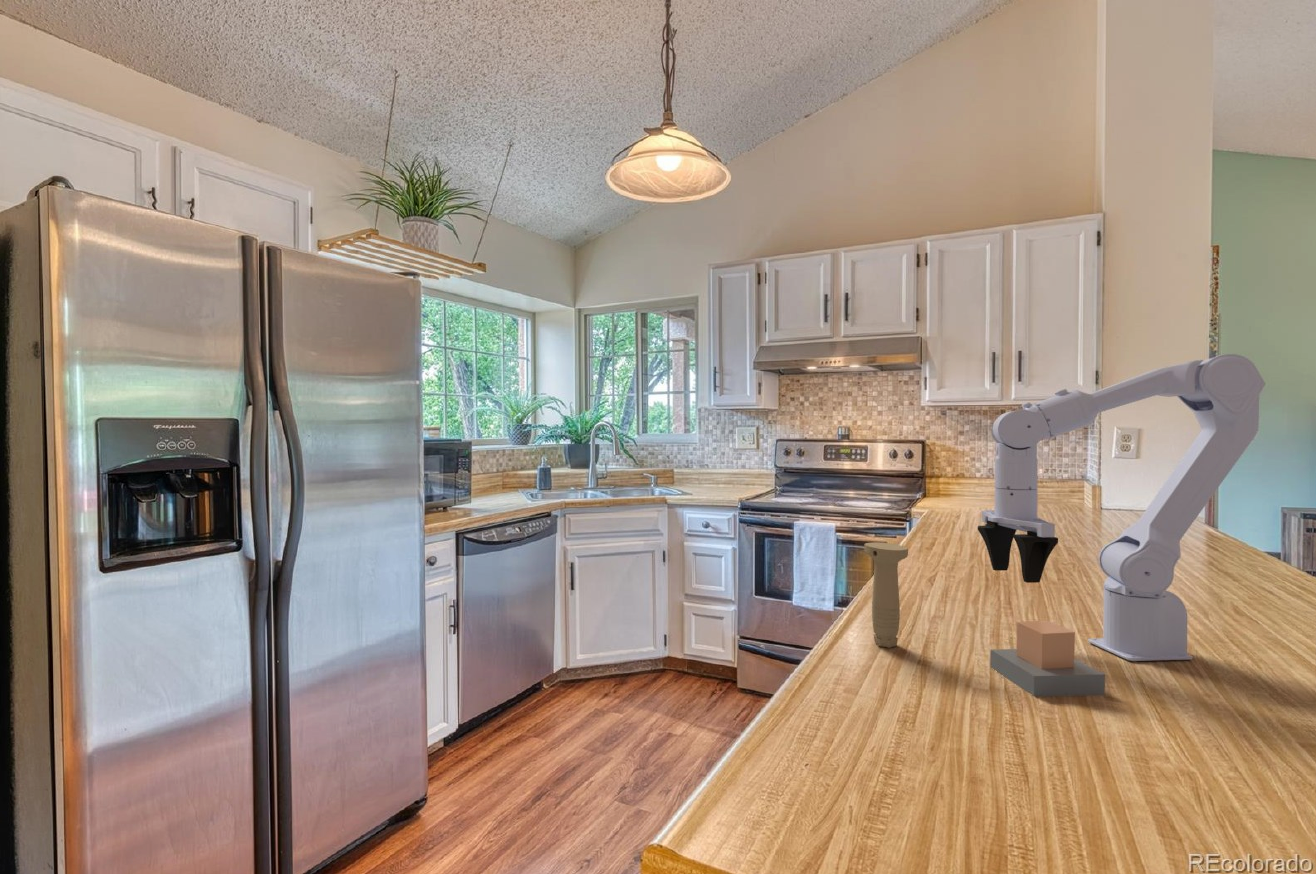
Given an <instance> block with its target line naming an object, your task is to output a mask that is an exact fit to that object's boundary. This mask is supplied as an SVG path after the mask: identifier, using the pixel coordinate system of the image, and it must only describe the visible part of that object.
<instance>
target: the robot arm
mask: <svg viewBox="0 0 1316 874" xmlns="http://www.w3.org/2000/svg"><path fill="white" fill-rule="evenodd" d="M1263 378H1264V377H1263V376H1262V375H1261V373H1260V371H1259V369H1258V367H1257V366H1256V365H1255V363H1254V362H1253V361H1252V360H1250V359H1249V358H1248V357H1245V356H1243V355H1241V354H1235V353H1223V354H1219V355H1217V356H1216V355H1215V356H1213V357H1211V358H1205V359H1198V360H1191V361H1188V362H1186V363H1180V364H1179V363H1178V364H1175V365H1170V366H1165V367H1159V368H1155V369H1152V370H1149V371H1147V372H1144V373H1141V374H1138V375H1136V376H1133V377H1130V378H1128V379H1125V380H1122V381H1120V382H1117V383H1114V384H1112V385H1109V386H1107V387H1104V388H1101V389H1098V390H1095V391H1093V392H1089V393H1087V392H1083V391H1081V390H1079V389H1072V390H1069V391H1068V390H1067V389H1066V388H1063V389H1060V390H1057V391H1055V392H1054V394H1055V396H1052V397H1050V398H1046V399H1043V400H1039V401H1038V402H1035V403H1031V402H1026V403H1023V404H1022V403H1021V407H1022V408H1020V409H1018V408H1017V409H1015V410H1014V411H1008V412H1007V411H1006V412H1004V413H1002V414H1001V415H999V416H998V417H997V418H996V419H995V420H994V423H993V424H992V428H991V429H990V433H991V436H992V438H993V440H994V441H995V442H996V444H995V458H994V510H989V509H988V510H981V522H982V523H985V524H984V525H978V526H977V531H978V532H979V534H980V536H981V537H982V540H983V542H984V544H985V546H986V550H987V554H988V556H989V560H990V564H991V567H992V570H993V571H996V572H997V571H998V572H999V571H1008V570H1009V565H1010V559H1011V558H1010V557H1011V549H1012V544H1013V540H1014V542H1015V543H1016V545H1017V549H1018V552H1019V556H1020V557H1019V558H1020V564H1021V575H1022V580H1023V582H1024V583H1026V584H1027V583H1031V584H1033V583H1034V584H1035V583H1036V584H1038V583H1041V580H1042V577H1043V573H1044V570H1045V567H1046V563H1047V561H1048V559H1049V557H1050V554H1051V553H1052V551H1053V550H1054V549H1055V547H1056V546H1057V545H1058V544H1059V537H1055V533H1056V532H1055V529H1056V527H1055V526H1056V525H1055V523H1053V522H1049V521H1046V520H1044V519H1043V518H1040V517H1038V469H1039V468H1038V464H1039V462H1038V461H1039V460H1038V458H1037V457H1038V454H1037V453H1038V452H1037V449H1038V448H1037V447H1038V445H1037V444H1038V443H1039V442H1040V441H1041V439H1043V440H1049V439H1051V438H1055V437H1058V436H1061V435H1063V434H1066V433H1070V432H1073V431H1076V430H1079V429H1082V428H1085V427H1088V426H1091V425H1092V424H1093V423H1094V421H1095V419H1096V417H1097V416H1098V414H1099V413H1102V412H1106V411H1108V410H1112V409H1116V408H1119V407H1121V406H1125V405H1129V404H1132V403H1134V402H1138V401H1141V400H1146V399H1149V398H1151V397H1156V396H1160V397H1168V398H1170V397H1177V398H1178V399H1179V400H1180V401H1181V402H1183V404H1184V405H1185V406H1187V408H1188V409H1190V411H1192V412H1193V414H1194V415H1195V417H1196V420H1197V422H1198V424H1199V425H1200V428H1201V431H1200V432H1199V434H1198V435H1197V436H1196V438H1195V440H1193V442H1192V443H1191V445H1190V446H1189V448H1188V449H1187V451H1186V452H1185V454H1184V455H1183V456H1182V458H1181V459H1180V461H1179V462H1178V464H1177V465H1176V466H1175V468H1174V469H1173V471H1171V474H1169V476H1168V477H1167V479H1166V480H1165V482H1164V483H1163V485H1162V487H1161V488H1160V489H1159V491H1158V492H1157V494H1156V495H1155V496H1154V497H1153V499H1152V501H1151V502H1150V504H1149V505H1148V506H1147V508H1146V509H1145V510H1144V512H1143V513H1142V515H1141V517H1140V518H1139V519H1138V521H1136V522H1135V523H1133V524H1132V525H1130V526H1128V527H1126V528H1125V529H1124V530H1122V532H1121V534H1120V535H1119V536H1118V537H1117V538H1116V539H1114V540H1112V541H1111V542H1108V543H1107V544H1106V545H1104V546H1103V547H1102V548H1101V549H1100V552H1099V554H1098V565H1099V568H1100V569H1101V571H1102V572H1103V573H1104V574H1105V575H1106V579H1105V581H1104V582H1103V583H1102V585H1103V592H1102V593H1103V598H1102V600H1103V603H1102V604H1103V605H1102V606H1103V609H1102V610H1103V612H1102V614H1103V616H1102V637H1101V638H1098V637H1097V638H1088V639H1087V642H1088V643H1089V644H1092V645H1093V646H1096V647H1098V648H1101V649H1102V650H1105V651H1107V652H1110V653H1112V654H1114V655H1116V656H1118V657H1120V658H1123V659H1124V660H1127V661H1130V662H1138V661H1139V662H1141V661H1142V662H1144V661H1145V662H1147V661H1183V660H1193V658H1194V657H1193V656H1192V655H1191V654H1188V611H1187V608H1186V605H1185V604H1184V602H1183V601H1182V599H1181V598H1180V597H1179V596H1178V595H1177V594H1176V593H1174V592H1172V591H1169V590H1168V589H1169V588H1170V586H1171V585H1172V583H1173V580H1174V576H1175V575H1174V573H1175V566H1176V565H1177V563H1178V561H1179V560H1180V559H1181V557H1182V556H1181V555H1182V554H1181V544H1180V543H1181V540H1182V538H1183V537H1184V536H1185V535H1186V533H1187V532H1188V530H1189V529H1190V527H1191V526H1192V525H1193V523H1194V522H1195V520H1196V519H1197V517H1198V516H1199V515H1200V513H1201V512H1202V511H1203V509H1204V508H1205V507H1206V506H1207V504H1208V502H1209V501H1210V500H1211V498H1212V497H1213V495H1214V494H1215V493H1216V492H1217V490H1218V488H1219V487H1220V486H1221V484H1222V483H1223V481H1224V480H1225V479H1226V477H1227V476H1228V474H1230V472H1231V470H1232V469H1233V468H1234V466H1235V465H1236V463H1237V462H1238V461H1239V459H1240V458H1241V457H1242V455H1243V454H1244V452H1245V451H1246V449H1247V448H1248V447H1249V446H1250V445H1251V443H1252V441H1253V440H1254V439H1255V437H1256V435H1257V433H1258V431H1259V426H1260V425H1259V424H1260V423H1259V419H1260V418H1259V417H1260V414H1259V413H1260V395H1261V393H1262V392H1263V390H1264V388H1265V386H1266V382H1265V381H1264V379H1263ZM1017 531H1021V532H1025V534H1024V533H1023V534H1022V533H1021V534H1019V533H1018V534H1016V533H1017ZM1167 590H1168V591H1167Z"/></svg>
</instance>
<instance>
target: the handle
mask: <svg viewBox="0 0 1316 874" xmlns="http://www.w3.org/2000/svg"><path fill="white" fill-rule="evenodd" d="M863 547H864V549H863V550H864V553H865V554H866V555H868V556H869V557H870V558H872V560H873V566H874V567H873V585H872V599H871V600H872V601H871V618H872V619H871V620H872V621H871V622H872V629H873V630H872V631H873V640H874V643H875V644H876V645H877V646H878V647H881V648H883V647H884V648H887V649H888V648H889V649H891V648H894V647H896V646H897V645H898V641H899V640H898V639H899V638H898V637H897V636H898V635H899V628H900V619H901V618H900V616H901V614H900V611H901V610H900V609H901V608H900V607H901V603H900V593H899V590H900V589H899V588H900V587H899V573H898V568H899V562H900V561H902V560H905V559H906V558H907V557H908V556H909V548H908V547H906V546H904V545H900V544H895V543H889V542H881V541H880V542H876V541H875V542H866V543H864V544H863Z"/></svg>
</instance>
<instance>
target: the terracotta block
mask: <svg viewBox="0 0 1316 874" xmlns="http://www.w3.org/2000/svg"><path fill="white" fill-rule="evenodd" d="M1075 640H1076V633H1075V631H1073V630H1070V629H1068V628H1067V627H1066V628H1065V627H1063V626H1062V625H1060V624H1057V623H1055V622H1053V621H1050V620H1031V621H1029V620H1028V621H1027V620H1026V621H1017V622H1016V649H1017V653H1016V655H1017V656H1019V657H1020V658H1022V659H1024V660H1026V661H1028V662H1030V663H1031V664H1033V665H1035V666H1037V667H1039V668H1041V669H1050V668H1068V667H1074V659H1075V650H1076V649H1075V646H1076V644H1075Z"/></svg>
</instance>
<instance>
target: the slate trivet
mask: <svg viewBox="0 0 1316 874" xmlns="http://www.w3.org/2000/svg"><path fill="white" fill-rule="evenodd" d="M989 652H990V656H989V657H990V665H989V666H990V667H991V668H990V669H992V668H993V669H994V670H993V669H992V670H993V671H995V670H996V671H997V672H996V671H995V672H996V673H998V674H999V673H1000V674H999V675H1000V676H1002V675H1003V676H1002V677H1004V678H1006V680H1008V681H1010V682H1011V683H1012V684H1014V685H1016V686H1017V687H1018V688H1021V689H1022V690H1023V689H1024V691H1025V692H1026V693H1028V694H1029V693H1030V694H1029V695H1031V694H1032V695H1031V696H1033V697H1034V696H1035V697H1065V696H1067V697H1069V696H1070V697H1071V696H1075V697H1076V696H1105V695H1106V674H1105V673H1103V672H1101V671H1099V670H1097V669H1096V668H1094V667H1092V666H1089V665H1088V664H1086V663H1084V662H1081V661H1080V660H1078V659H1076V658H1074V667H1068V668H1050V669H1041V668H1039V667H1037V666H1035V665H1033V664H1031V663H1030V662H1028V661H1026V660H1024V659H1022V658H1020V657H1019V656H1017V655H1016V653H1017V648H1002V649H1001V648H998V649H990V651H989Z"/></svg>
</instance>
